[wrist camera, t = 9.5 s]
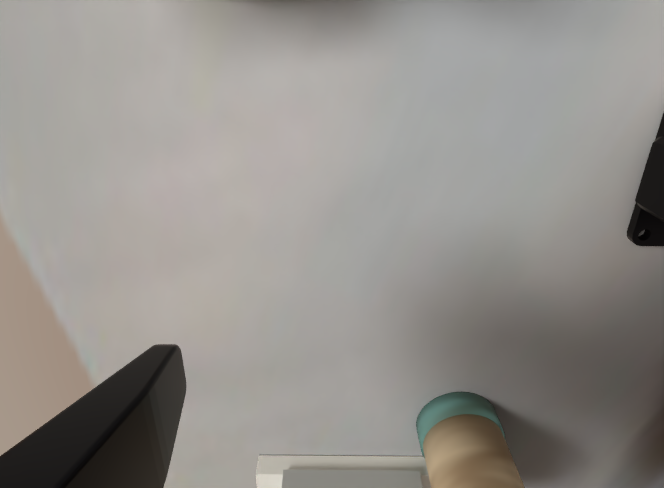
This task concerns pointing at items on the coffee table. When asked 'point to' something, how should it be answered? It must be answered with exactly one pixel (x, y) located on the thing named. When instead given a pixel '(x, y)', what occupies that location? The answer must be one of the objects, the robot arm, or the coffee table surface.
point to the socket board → (341, 472)
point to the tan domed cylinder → (465, 444)
